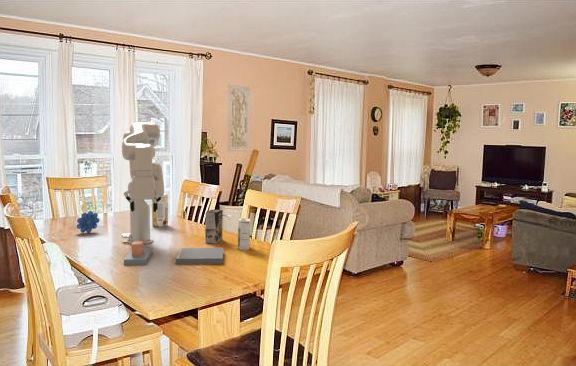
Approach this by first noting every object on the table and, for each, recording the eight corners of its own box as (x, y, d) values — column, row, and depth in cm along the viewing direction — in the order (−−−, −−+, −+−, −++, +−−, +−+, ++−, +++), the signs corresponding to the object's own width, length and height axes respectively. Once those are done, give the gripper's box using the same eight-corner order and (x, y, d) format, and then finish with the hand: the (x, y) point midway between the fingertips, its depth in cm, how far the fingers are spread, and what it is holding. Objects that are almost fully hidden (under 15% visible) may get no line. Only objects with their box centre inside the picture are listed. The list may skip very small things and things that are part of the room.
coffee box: (216, 243, 235) (217, 212, 234) (204, 243, 237) (204, 211, 235) (222, 239, 244) (223, 209, 242) (211, 238, 246) (211, 208, 244)
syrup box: (238, 247, 230) (238, 218, 228) (250, 247, 231) (250, 218, 229) (237, 249, 224) (238, 220, 223) (250, 249, 225) (250, 220, 223)
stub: (123, 264, 195) (123, 247, 195) (132, 253, 213) (132, 237, 212) (145, 264, 197) (145, 247, 196) (152, 253, 214) (152, 237, 213)
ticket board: (175, 264, 198) (175, 258, 198) (179, 253, 216) (179, 247, 216) (222, 263, 201) (222, 257, 200) (223, 252, 218) (223, 247, 218)
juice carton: (170, 225, 277) (169, 193, 275) (158, 227, 270) (158, 195, 268) (161, 223, 281) (160, 192, 279) (150, 225, 274) (149, 194, 272)
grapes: (98, 230, 260) (98, 209, 259) (100, 232, 254) (100, 210, 253) (75, 232, 254) (75, 210, 253) (77, 234, 249) (76, 212, 247)
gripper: (121, 174, 202) (122, 212, 204) (162, 175, 203) (162, 213, 206) (125, 172, 209) (126, 209, 212) (164, 173, 211) (164, 209, 214)
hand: (143, 211), depth 209 cm, fingers open, 9 cm apart
